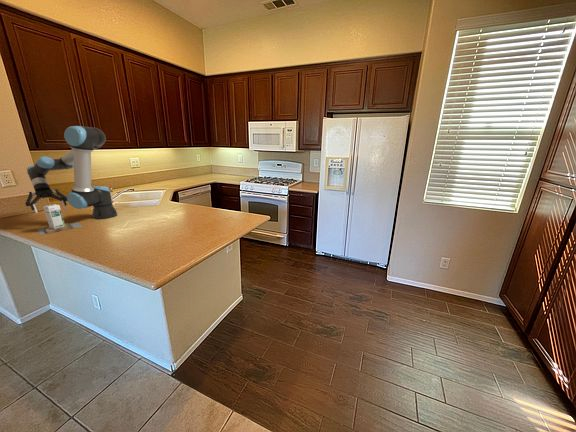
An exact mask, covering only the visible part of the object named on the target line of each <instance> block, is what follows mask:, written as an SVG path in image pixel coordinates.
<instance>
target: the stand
mask: <svg viewBox="0 0 576 432" xmlns="http://www.w3.org/2000/svg"><path fill="white" fill-rule="evenodd" d="M64 223H65V222H64ZM43 228H44V229H45V231H46V232H47V234H52V233H59V232H63V231H68V230H73V229H74V228H73V227H72V226H71V225H70V223H69V222H66V223H65V227H60V228H56V229H52V228H50V227H49V226H45V227H43Z"/></svg>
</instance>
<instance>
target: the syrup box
mask: <svg viewBox="0 0 576 432" xmlns="http://www.w3.org/2000/svg"><path fill="white" fill-rule="evenodd" d="M42 207H43V211H44V214H45V216H46V220H47V224H48V227H50V228H52V229H56V228H60V227H65V220H64V216H63V213H62V208H61V206H60V204H56V203H54V204H49V205H44V206H42Z"/></svg>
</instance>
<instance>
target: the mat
mask: <svg viewBox="0 0 576 432" xmlns="http://www.w3.org/2000/svg"><path fill="white" fill-rule="evenodd" d="M69 224H70V225H71V226H72V227H73V229H76V228H82V227H84V226H83V225H82V224H81V223H79V222H78V221H76V222H71V223H69ZM37 232H38V233H39V235H41V236H42V235H46V234H47V232H46V231H45V229H44V227H43V228H38V229H37Z"/></svg>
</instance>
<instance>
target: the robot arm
mask: <svg viewBox="0 0 576 432" xmlns="http://www.w3.org/2000/svg"><path fill="white" fill-rule="evenodd" d="M63 134H64V135H63V137H64V140H65V142H66V144H68V145H69V148H71V149H70V150H69V151H68V152H67V153H65V154H63V155H62V156H61V157H59V158H51V157H50V156H46V155H44V156H41V157H40V158H39V159H38V160H36V163H35V164H34V165H33V164H32V165H29V166H28V167H27V168H26V173H27V175H28V177H29V181H30V182H31V184H32V187H33V190H34V191H35V192H32V191H29V192H28V194H29V195H28V197H27V198H26V201H25V206H26V207H30V208H31V210H32V211H34V213H35V214H36V215H37V216H38V215H39V212H38V209H37V207H36V203H37V202H38V201H39V200H41V198H42V199H45V198H52V199H55V200H57V201H59V202H61V205H62V207H63V210H64V211H67V202H68V204H69V205H70V206H71V207H72V208H74V209H77V210H82V209H86V208H90V207H93V208H92V214H91V216H92V219H95V220H105V219H111V218H114V217H117V216H118V211H117V210H116V208H115V207H114V204H113V201H112V197H111V196H112V195H111V191H110V188H109V187H108V186H106V185H101V186H100V185H98V186H95V185H93V186H92V153H93V152H94V150H96V149H98V150H99V149H100V148H101V147H102V146H103V145H104V144H105V143H106V141H107V137H106V134H105V133H104V131H102V129H100V128H97V127H94V126H93V127H91V126H82V125H81V126H80V125H73V126H68V127H67V128H66V129H65V130H64V133H63ZM70 169H73V176H74V177H73V178H74V186H71V192H69V193H68V194H66V195H64V194H63V193H61V192H60V191H59V189H53V190H52V189H51V186H50V184H49V182H48V180H47V177H46V175H47V174H49V172H51V171H59V170H60V171H61V170H70ZM34 196H36V197H34ZM33 197H34V198H33ZM32 199H33V200H32Z"/></svg>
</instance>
